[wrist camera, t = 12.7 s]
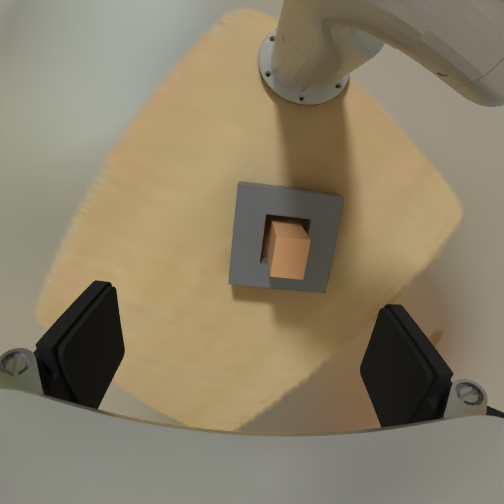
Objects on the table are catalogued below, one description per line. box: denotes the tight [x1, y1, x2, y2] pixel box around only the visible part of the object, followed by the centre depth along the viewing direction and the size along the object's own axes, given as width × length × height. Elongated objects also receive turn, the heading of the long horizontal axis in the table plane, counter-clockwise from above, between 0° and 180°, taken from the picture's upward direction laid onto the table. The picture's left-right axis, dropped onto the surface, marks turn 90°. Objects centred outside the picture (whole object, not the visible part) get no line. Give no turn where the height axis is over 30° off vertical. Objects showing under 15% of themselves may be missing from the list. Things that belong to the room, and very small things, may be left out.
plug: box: [266, 218, 311, 280], centre depth 40 cm, size 5×4×9 cm
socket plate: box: [228, 182, 344, 293], centre depth 43 cm, size 14×14×3 cm
